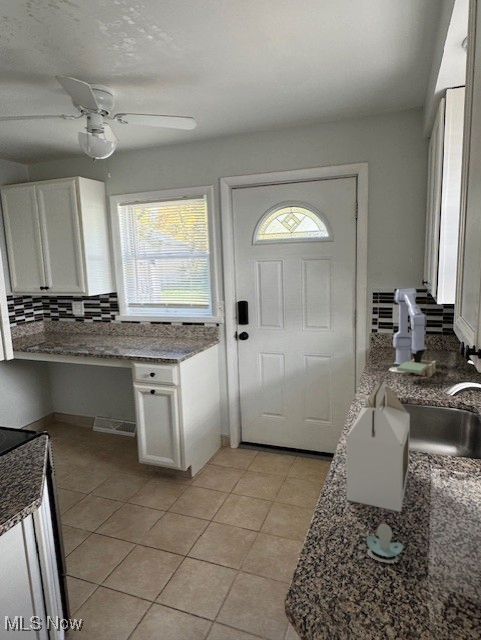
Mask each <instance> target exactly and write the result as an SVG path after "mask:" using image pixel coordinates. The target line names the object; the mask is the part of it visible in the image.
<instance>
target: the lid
mask: <svg viewBox="0 0 481 640" xmlns="http://www.w3.org/2000/svg"><path fill="white" fill-rule="evenodd" d="M396 367H397V371H405V372H412V373H420V374H421V373H422V372H423V371H424V370H425V369H427V368H428V367H429V364H424V363H415V362H407V361H406V362H404V363H403V364H401V365H398V366H396Z"/></svg>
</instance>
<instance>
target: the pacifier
mask: <svg viewBox="0 0 481 640" xmlns="http://www.w3.org/2000/svg"><path fill="white" fill-rule="evenodd" d="M376 533H377V536H378V538H377V537H376V536H373V535H367V537H366V544H367V546H368V547H369V548H368V549H367V552H366V553H367V556H368V557H369V556H370V557H371V558H370V557H369V558H370V559H372V558H373V559H375V560H378V561H380V562H388V561H389V562H392V561H396V560H397V559H399V558H400V557H399V556H397V555H399V554H401V552H403V548H404V545H403V544H402V543H401V542H391V539H392V536H393V530H392V528H391V527H390V526H389V525H388V524H386V523H381V524H380V525H379V526H378V527H377V529H376ZM372 551H373V552H372ZM374 553H375V554H377V555H378V556H380V555H381V556H380V557H378V556H377V555H374ZM383 556H385V557H384V558H393V559H384V558H381V557H383ZM393 556H395V558H394V557H393ZM398 557H399V558H398ZM373 559H372V560H373ZM375 560H374V561H375ZM380 562H379V563H380Z"/></svg>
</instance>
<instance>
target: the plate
mask: <svg viewBox="0 0 481 640" xmlns="http://www.w3.org/2000/svg"><path fill="white" fill-rule="evenodd" d="M397 367H398V366H395V367H389V369H388V371H389V372H390V373H396V374H407V372H405V371H397Z"/></svg>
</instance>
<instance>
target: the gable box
mask: <svg viewBox="0 0 481 640" xmlns="http://www.w3.org/2000/svg"><path fill="white" fill-rule="evenodd" d="M369 395H370V396H369V398H368V403H367V404H366V405H365V404H364V407H362V408H361V410H360V411H359V413H358V415H357V417H356V419H355V420H354V422H353V424H352V426H351V427H350V429H349V431H348V433H347V435H346V437H345V438H346V439H345V442H346V443H345V445H346V447H345V448H346V450H345V451H346V452H345V454H346V455H345V457H346V458H345V459H346V461H345V462H346V464H345V465H346V468H345V469H346V472H345V473H346V500H347V501H349V502H354V503H357V504H358V503H360V504H363V505H367V506H368V505H369V506H371V507H377V508H381V509H386V510H390V511H394V512H402V510H403V503H404V497H405V492H406V487H407V483H408V477H409V472H410V470H409V469H410V428H411V427H410V426H411V425H410V421H411V419H410V418H411V417H410V415H411V414H410V413H409V412H408V410H407V409H406V408H405V406H404V405H403V404H402V402H401V401H400V399H399V398H398V397H397V395H396V394H395V391H393V390H392V389H391V388H389V387H387V386H386V379H385V378H383V379H382V380H381V383H379V381H377V383H375V386H374V387H373V389H372V391H371V393H370V394H369ZM386 398H387V406H386Z"/></svg>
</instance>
